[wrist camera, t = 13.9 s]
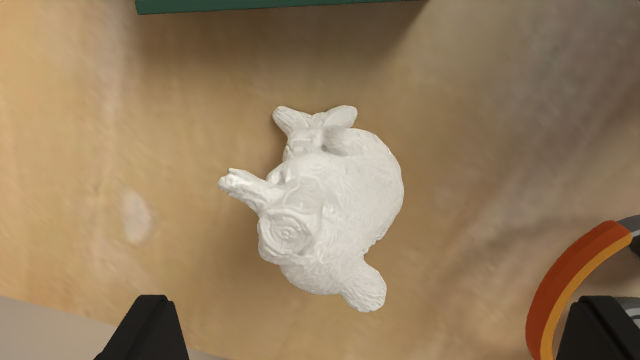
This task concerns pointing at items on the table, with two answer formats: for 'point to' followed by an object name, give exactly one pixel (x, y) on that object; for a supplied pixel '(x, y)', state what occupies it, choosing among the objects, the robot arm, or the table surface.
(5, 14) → the table surface
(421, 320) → the table surface
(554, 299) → the headphones
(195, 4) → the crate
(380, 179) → the white squirrel figurine
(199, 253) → the table surface
